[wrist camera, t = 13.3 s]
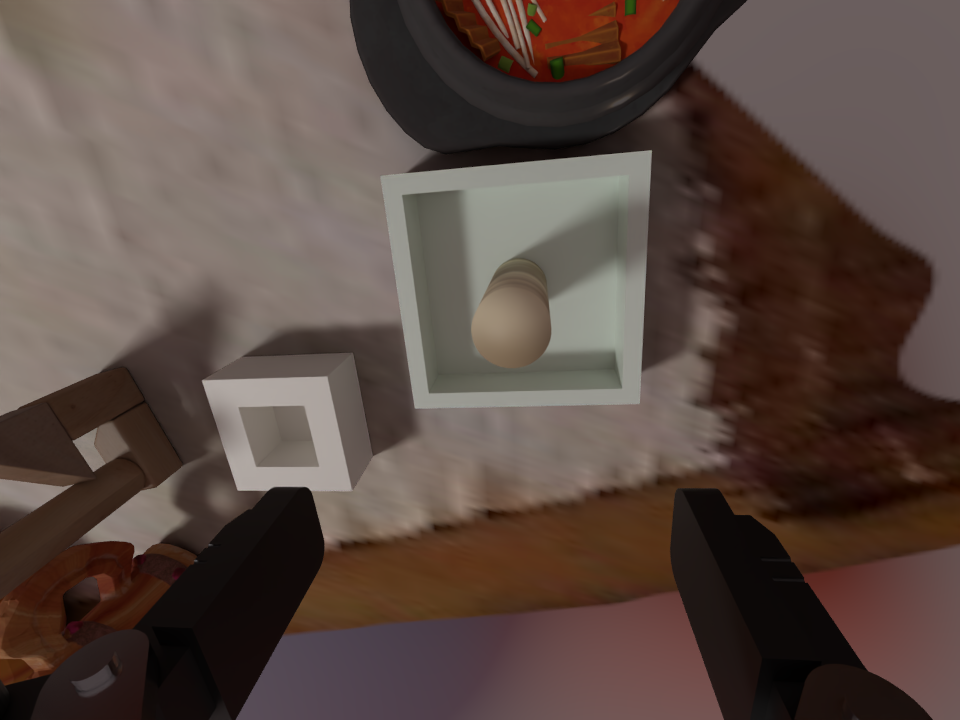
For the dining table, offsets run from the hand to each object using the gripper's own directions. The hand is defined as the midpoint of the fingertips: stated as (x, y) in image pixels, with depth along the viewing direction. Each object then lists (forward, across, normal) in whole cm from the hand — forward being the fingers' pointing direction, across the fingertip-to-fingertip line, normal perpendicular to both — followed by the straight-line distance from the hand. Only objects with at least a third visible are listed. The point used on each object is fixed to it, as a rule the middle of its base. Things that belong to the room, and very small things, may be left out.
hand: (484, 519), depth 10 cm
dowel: (+25, 0, 0) cm, 25 cm away
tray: (+26, 0, 0) cm, 26 cm away
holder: (+26, +19, +10) cm, 34 cm away
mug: (+26, +38, +26) cm, 53 cm away
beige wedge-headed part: (+26, +36, +11) cm, 46 cm away
